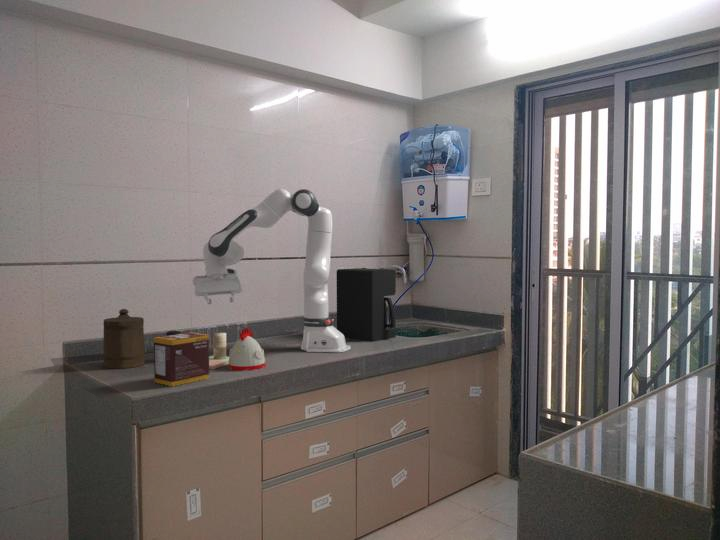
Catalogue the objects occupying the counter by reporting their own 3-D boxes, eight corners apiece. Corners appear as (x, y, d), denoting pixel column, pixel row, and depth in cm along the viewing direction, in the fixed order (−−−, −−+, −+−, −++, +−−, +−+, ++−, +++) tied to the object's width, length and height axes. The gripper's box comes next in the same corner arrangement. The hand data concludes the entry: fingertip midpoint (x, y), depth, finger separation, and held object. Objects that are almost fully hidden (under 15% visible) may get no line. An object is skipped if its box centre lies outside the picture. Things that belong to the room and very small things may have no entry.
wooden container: (140, 359, 232) (138, 306, 232) (148, 365, 220) (147, 309, 219) (100, 363, 224) (99, 308, 223) (107, 370, 212) (106, 312, 211)
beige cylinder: (228, 357, 230) (228, 333, 229) (221, 359, 225) (221, 334, 225) (218, 356, 232) (218, 332, 231) (210, 358, 227) (210, 334, 226)
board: (238, 360, 231) (238, 357, 231) (213, 369, 214) (213, 365, 214) (213, 358, 235) (213, 355, 235) (186, 367, 218) (186, 363, 218)
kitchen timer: (221, 369, 214) (220, 329, 213) (241, 362, 227) (240, 325, 226) (253, 371, 209) (252, 331, 208) (271, 364, 222) (271, 326, 221)
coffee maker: (403, 337, 286) (403, 268, 285) (378, 342, 272) (378, 270, 270) (361, 332, 305) (361, 267, 303) (336, 336, 290) (336, 268, 289)
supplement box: (210, 378, 199) (209, 334, 198) (171, 387, 186) (170, 340, 186) (192, 374, 205) (191, 331, 204) (153, 382, 193) (153, 337, 192)
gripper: (192, 272, 244) (196, 301, 238) (240, 269, 252) (245, 297, 246) (191, 279, 249) (195, 308, 243) (238, 276, 257) (242, 303, 251)
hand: (220, 302), depth 244 cm, fingers open, 8 cm apart
